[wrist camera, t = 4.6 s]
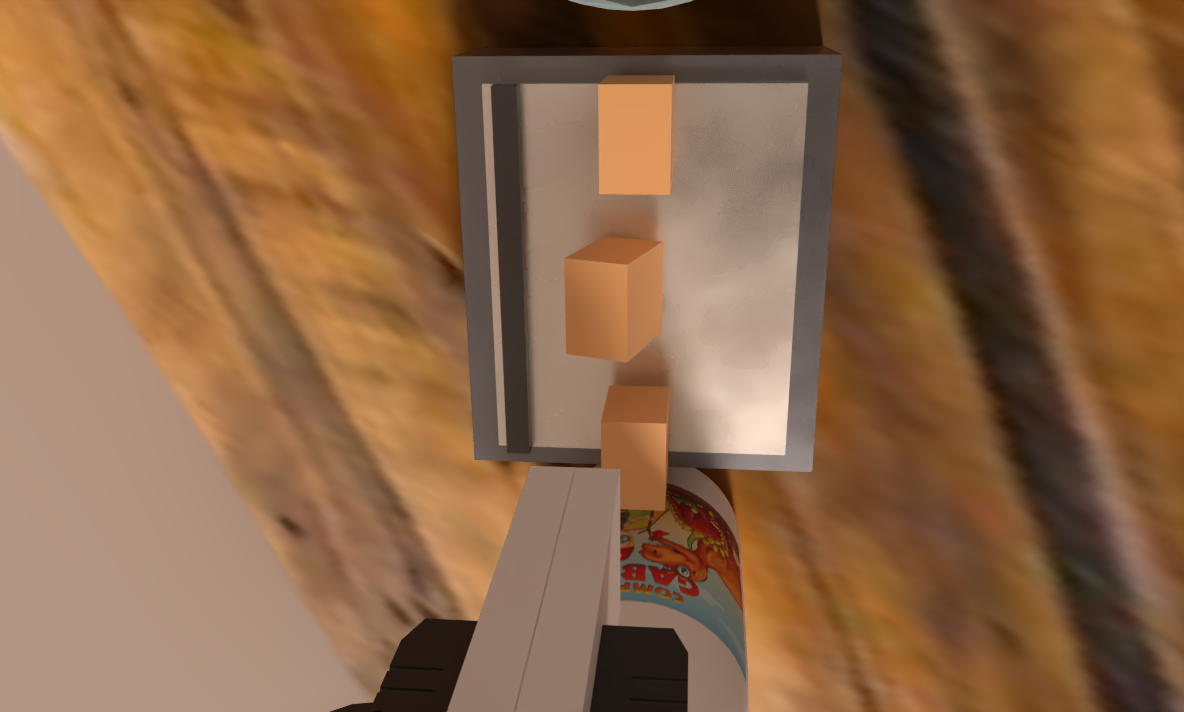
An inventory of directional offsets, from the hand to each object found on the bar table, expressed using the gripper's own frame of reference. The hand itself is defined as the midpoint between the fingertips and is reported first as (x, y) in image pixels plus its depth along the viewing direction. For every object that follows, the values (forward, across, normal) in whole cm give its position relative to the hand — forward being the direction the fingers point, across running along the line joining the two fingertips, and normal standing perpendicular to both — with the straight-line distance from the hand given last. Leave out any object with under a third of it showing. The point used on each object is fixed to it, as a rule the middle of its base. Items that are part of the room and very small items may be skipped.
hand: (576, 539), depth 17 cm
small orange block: (+17, 0, 0) cm, 17 cm away
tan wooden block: (+17, 0, +5) cm, 18 cm away
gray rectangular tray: (+22, 0, 0) cm, 22 cm away
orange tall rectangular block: (+17, 0, -5) cm, 17 cm away
